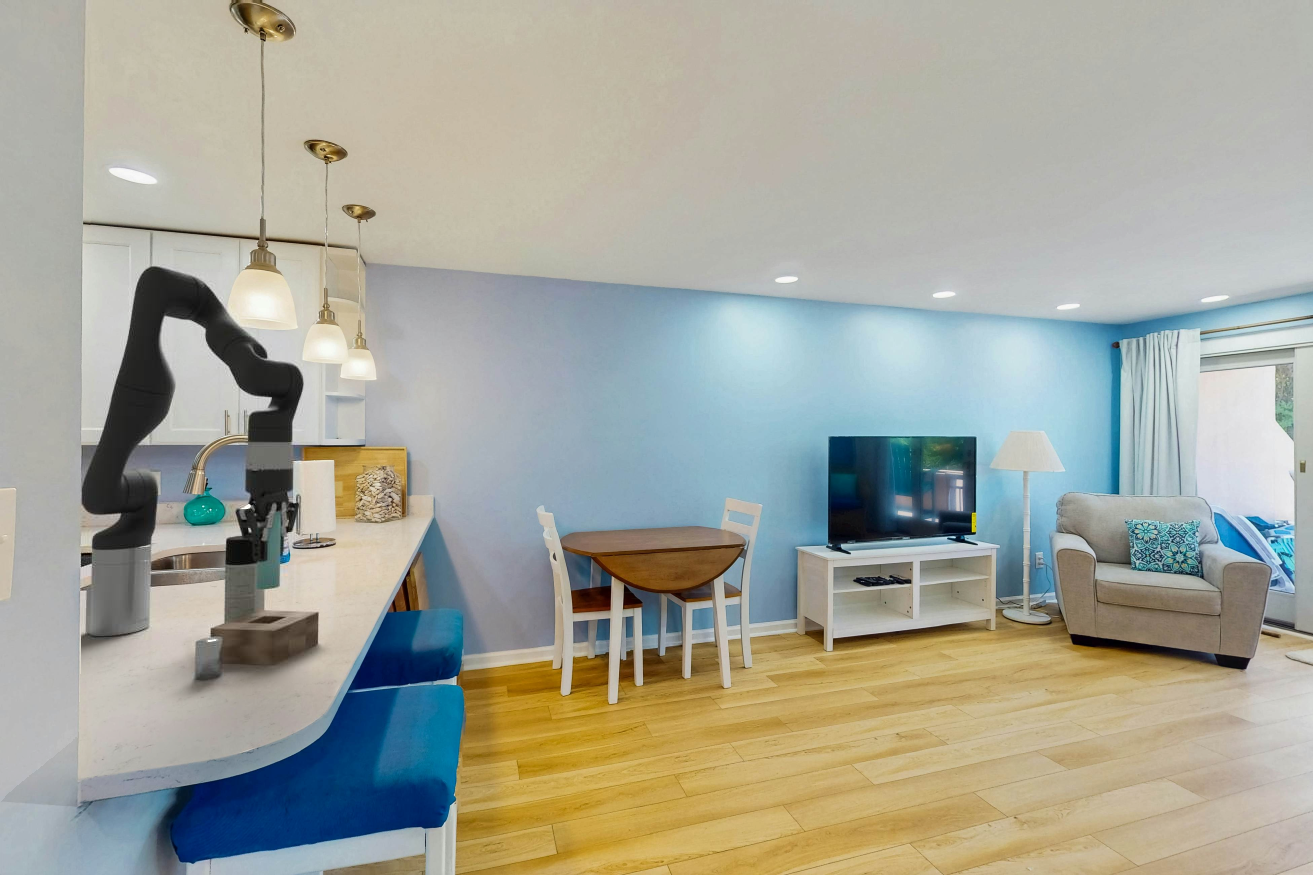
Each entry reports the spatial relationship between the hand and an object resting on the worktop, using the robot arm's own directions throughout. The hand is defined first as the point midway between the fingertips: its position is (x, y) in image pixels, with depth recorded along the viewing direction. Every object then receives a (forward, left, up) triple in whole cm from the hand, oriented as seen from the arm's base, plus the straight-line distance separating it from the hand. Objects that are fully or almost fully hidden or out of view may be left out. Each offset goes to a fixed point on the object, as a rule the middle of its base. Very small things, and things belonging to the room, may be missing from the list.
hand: (268, 558), depth 113 cm
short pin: (-1, -12, -17) cm, 21 cm away
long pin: (0, 0, -5) cm, 5 cm away
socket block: (0, 0, -17) cm, 17 cm away
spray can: (-11, +8, -17) cm, 22 cm away
